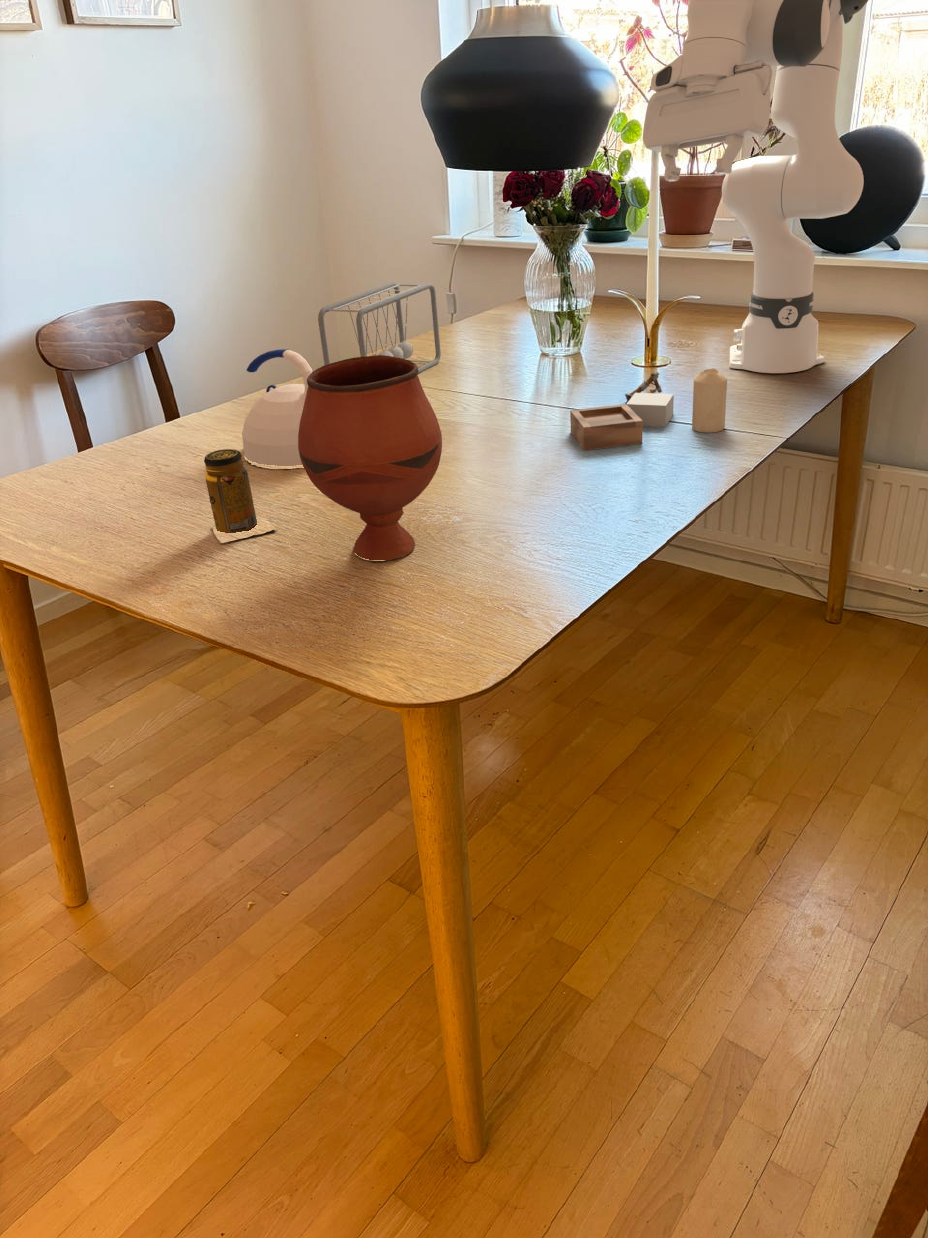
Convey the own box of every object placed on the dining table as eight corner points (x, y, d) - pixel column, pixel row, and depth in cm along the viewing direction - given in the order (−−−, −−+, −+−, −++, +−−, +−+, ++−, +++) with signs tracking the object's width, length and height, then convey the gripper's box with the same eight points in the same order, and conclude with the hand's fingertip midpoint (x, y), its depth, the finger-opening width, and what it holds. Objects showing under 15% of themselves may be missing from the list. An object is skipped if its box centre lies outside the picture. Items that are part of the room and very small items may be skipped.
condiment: (210, 528, 147) (194, 452, 141) (266, 515, 150) (252, 440, 144) (220, 545, 141) (203, 466, 135) (277, 532, 144) (263, 454, 138)
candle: (725, 433, 167) (728, 374, 162) (691, 433, 168) (694, 375, 164) (724, 422, 172) (727, 365, 167) (691, 423, 173) (694, 366, 168)
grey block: (634, 414, 181) (635, 392, 179) (673, 415, 178) (673, 393, 176) (626, 426, 175) (626, 404, 173) (665, 427, 173) (666, 405, 171)
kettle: (301, 478, 163) (283, 370, 155) (219, 459, 175) (198, 358, 166) (381, 441, 177) (369, 340, 168) (300, 426, 189) (285, 331, 180)
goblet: (382, 511, 148) (362, 344, 136) (481, 538, 137) (468, 358, 125) (286, 558, 136) (254, 379, 124) (385, 592, 124) (361, 399, 112)
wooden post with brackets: (667, 389, 189) (660, 369, 186) (638, 414, 187) (630, 395, 185) (661, 387, 190) (654, 368, 188) (631, 412, 189) (624, 393, 186)
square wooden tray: (570, 432, 173) (570, 410, 172) (625, 425, 174) (626, 403, 172) (584, 450, 165) (583, 427, 163) (642, 443, 166) (642, 420, 164)
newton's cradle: (403, 359, 228) (395, 279, 220) (442, 362, 223) (435, 280, 215) (327, 396, 206) (315, 309, 197) (369, 400, 201) (358, 311, 192)
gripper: (787, 63, 132) (770, 173, 135) (671, 90, 148) (658, 188, 151) (759, 49, 128) (742, 163, 131) (642, 78, 144) (630, 179, 147)
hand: (696, 176), depth 141 cm, fingers open, 8 cm apart
